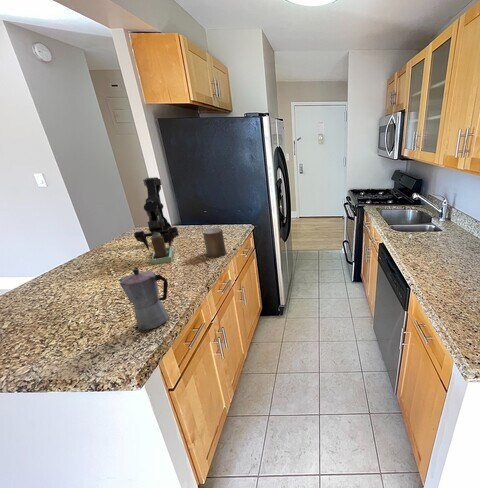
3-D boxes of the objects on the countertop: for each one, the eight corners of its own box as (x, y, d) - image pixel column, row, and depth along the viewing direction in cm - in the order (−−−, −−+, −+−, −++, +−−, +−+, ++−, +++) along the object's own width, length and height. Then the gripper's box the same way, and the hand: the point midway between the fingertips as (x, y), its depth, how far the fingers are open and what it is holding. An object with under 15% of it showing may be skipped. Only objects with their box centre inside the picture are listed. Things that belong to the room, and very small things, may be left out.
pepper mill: (166, 256, 137) (160, 231, 132) (169, 259, 134) (163, 233, 129) (155, 259, 134) (148, 234, 129) (158, 262, 131) (151, 236, 125)
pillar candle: (229, 253, 142) (225, 227, 137) (211, 259, 136) (207, 232, 130) (220, 249, 149) (216, 224, 143) (203, 254, 142) (198, 228, 136)
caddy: (155, 254, 142) (153, 249, 141) (172, 251, 146) (171, 246, 145) (152, 265, 129) (151, 260, 128) (171, 262, 133) (170, 256, 132)
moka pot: (139, 314, 92) (123, 263, 85) (184, 312, 94) (172, 262, 86) (122, 332, 84) (103, 277, 76) (172, 329, 85) (157, 275, 77)
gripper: (129, 216, 125) (132, 244, 120) (173, 211, 133) (177, 238, 128) (136, 227, 134) (138, 254, 129) (176, 222, 142) (181, 247, 137)
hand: (159, 248), depth 130 cm, fingers open, 9 cm apart
